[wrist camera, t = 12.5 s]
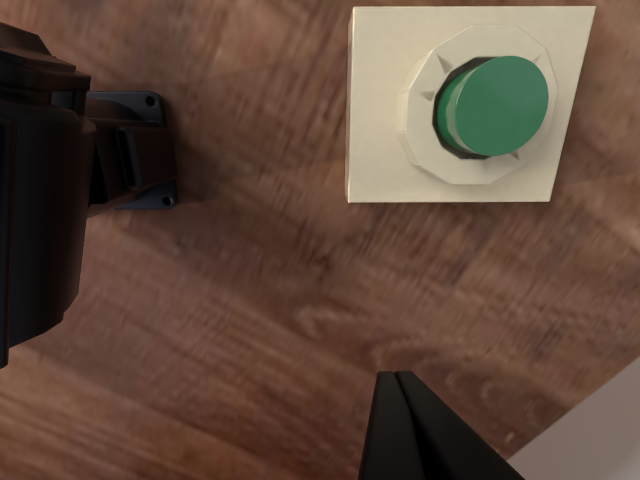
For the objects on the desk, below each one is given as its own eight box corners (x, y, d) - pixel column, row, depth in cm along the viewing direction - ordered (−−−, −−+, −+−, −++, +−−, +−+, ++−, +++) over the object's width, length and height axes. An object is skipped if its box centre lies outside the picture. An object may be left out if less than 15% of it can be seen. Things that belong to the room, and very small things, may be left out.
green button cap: (431, 153, 15) (449, 156, 13) (441, 66, 13) (461, 55, 12) (508, 152, 15) (537, 156, 13) (525, 66, 13) (559, 55, 12)
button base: (344, 194, 19) (351, 211, 15) (348, 23, 16) (358, -14, 12) (522, 193, 19) (579, 210, 15) (557, 23, 16) (640, -15, 12)
